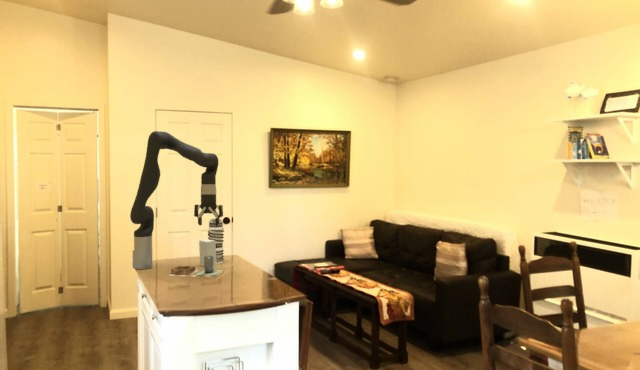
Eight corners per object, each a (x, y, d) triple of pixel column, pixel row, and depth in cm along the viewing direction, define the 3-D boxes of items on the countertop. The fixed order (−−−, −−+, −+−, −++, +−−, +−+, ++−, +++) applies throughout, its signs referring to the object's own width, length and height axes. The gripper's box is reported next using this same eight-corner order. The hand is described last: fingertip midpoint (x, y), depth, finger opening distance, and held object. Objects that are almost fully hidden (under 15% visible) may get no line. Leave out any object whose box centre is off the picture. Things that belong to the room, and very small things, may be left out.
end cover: (202, 273, 238) (202, 257, 238) (206, 271, 243) (206, 255, 243) (211, 273, 238) (211, 257, 238) (214, 271, 242) (214, 255, 242)
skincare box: (216, 267, 259) (216, 240, 258) (206, 269, 255) (206, 241, 254) (208, 265, 265) (208, 238, 264) (198, 266, 261) (198, 239, 260)
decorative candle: (227, 261, 274) (227, 218, 273) (216, 264, 266) (215, 220, 265) (216, 260, 279) (215, 217, 278) (204, 262, 271) (204, 219, 270)
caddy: (165, 277, 236) (165, 270, 236) (177, 271, 250) (177, 264, 250) (214, 279, 233) (214, 272, 233) (224, 272, 247) (223, 266, 247)
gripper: (191, 193, 236) (192, 226, 237) (219, 193, 234) (219, 226, 235) (197, 192, 243) (197, 224, 244) (224, 193, 241) (224, 224, 242)
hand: (208, 225), depth 239 cm, fingers open, 8 cm apart
